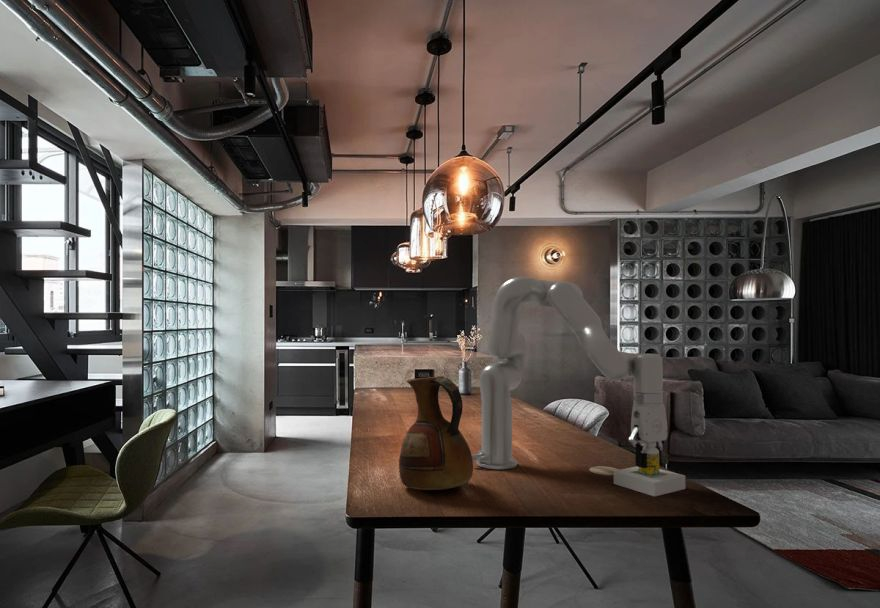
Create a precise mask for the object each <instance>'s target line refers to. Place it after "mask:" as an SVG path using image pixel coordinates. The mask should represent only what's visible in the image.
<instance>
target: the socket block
mask: <svg viewBox="0 0 880 608" xmlns="http://www.w3.org/2000/svg"><path fill="white" fill-rule="evenodd" d="M613 484H614V485H617V486H620V487H623V488H625V489H630V490H633V491H636V492H640V493H642V494H645V495H648V496H650V497H651V496H652V497H658V496H662V495H666V494H670V493H675V492H678V491H682V490H686V475H684V474H680V473H676V472H674V471H669V470H666V469H661V468H659V477H655V478H649V477H646V476H642V475H639V472H638V466H636V465H635V466H631V467H627V468H621V469H619V470H616V471H614V475H613Z"/></svg>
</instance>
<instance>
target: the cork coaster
mask: <svg viewBox="0 0 880 608" xmlns="http://www.w3.org/2000/svg"><path fill="white" fill-rule="evenodd" d="M616 470H620V469H618V468H616V467H610V466H604V465H603V466H601V465H599V466H598V465H597V466H592V467H590V468H589V472H591V473H594V474H597V475H603V476H614V471H616Z"/></svg>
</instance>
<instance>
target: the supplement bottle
mask: <svg viewBox="0 0 880 608" xmlns="http://www.w3.org/2000/svg"><path fill="white" fill-rule="evenodd" d="M641 441H642V440H641ZM640 446H641V447H642V443H640ZM655 447H656V442H652V443H647V445H646V450H645V453H647V468H641V467H638V472H639V475H642V476H646V477H649V478H655V477H659V469H660V465H659V450H658V449H657V448H655Z"/></svg>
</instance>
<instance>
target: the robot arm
mask: <svg viewBox="0 0 880 608" xmlns="http://www.w3.org/2000/svg"><path fill="white" fill-rule="evenodd" d="M493 303H494V304H493V310H492V311H493V312H492V317H491V324H490V331H489V335H488V342H487V343H488V345H487V349H488V352H489V354H490V355H491V356H492V357H493V358H495V359H496V362H494V363H493V362H492V363H490V364H488V365H486V366H485V367H484V368H483V369H482V370H481V372H480V375H479V381H478V382H479V383H478V384H479V390H480V399H481V449H478V452H477V453H476V454H475V453H474V454H472V453H471V455H472V460H473V462H476V465H477V466H479V467H481V468H483V469H488V470H489V469H490V470H509V469H514V468H516V467H517V465H518V462H517V460H516V459H514V458H513V404H512V402H513V401H512V397H511V391H512V390H515V389H517V387H519V385H520V384H521V382H522V380H523V379H522V378H523V374H524V367H525V360H526V355H527V340H526V338H525V336H524V334H523V333H522V332H521V331H519V326H520V325H519V324H520V317H521V313H520V312H521V311H520V309H521V306H523V305H527V306H533V307H534V306H536V307H543V308H549V309H554V310H555V311H556V312H557V314H559V316H560V317H561V319H562V320H563V321H564V323H565V324H566V325H567V326H568V327H569V329H570V330H571V331H572V333H574V335H575V336H576V339H577V341H578V342H579V344H580V346H581V347H582V350H584V352H585V354H586V355H587V356H588V358H589V359H590V360H591V362H592V363H593V364H594V365H595V367H596V368H597V369H598V371H600V373H601V374H602V375H603V376H604V377H606V378H607V379H609V380H611V381H620V380H623V379H627V378H628V379H629V378H633V404H632V410H631V419H630V420H631V421H630V422H631V423H630V436H629V437H628V440H627V441H628V443H629V444H630V445H631V447H632V449H633V451H634V453H635V467H636V466H638V467H641V468H647V453H645V450H646V445H647V443H652V442H656V447H655V448H657V449H658V450H659V466H662V451H663V449H664V447H663V446H664V445H665V441H666V440H667V439H668V421H667V412H666V411H667V410H666V407H665V403H664V391H663V390H664V385H663V384H664V382H663V381H664V379H663V378H664V377H663V365H664V364H663V357H662V356H661V355H660V354H658V353H657V354H656V353H632V352H625V351H624V352H623V351H619V349H618V348H617V347H616V346H615V345H614V343H613V342H612V340H610V338H609V337H608V335H607V334H606V332H605V331H604V328H603V324H602V320H601V318H600V316H599V315H598V314H597V313H596V312H595V310H594V309H593V308H592V307H591V305H590V304H589V303H588V302H587V301H586V300H585V298H584V294H583V291H582V289H581V288H580V287H579V286H578V285H577V284H576V283H573V282H569V281H567V280H566V281H565V280H562V281H552V280H543V279H537V278H534V277H530V276H525V275H524V276H516V277H512V278H510V279H507V280H506V281H505V282H504V283H502V284H501V285H500V287H499V288H498V290H497V292H496V294H495V298H494V302H493ZM641 440H642V441H641ZM640 443H642V446H641V444H640Z"/></svg>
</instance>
